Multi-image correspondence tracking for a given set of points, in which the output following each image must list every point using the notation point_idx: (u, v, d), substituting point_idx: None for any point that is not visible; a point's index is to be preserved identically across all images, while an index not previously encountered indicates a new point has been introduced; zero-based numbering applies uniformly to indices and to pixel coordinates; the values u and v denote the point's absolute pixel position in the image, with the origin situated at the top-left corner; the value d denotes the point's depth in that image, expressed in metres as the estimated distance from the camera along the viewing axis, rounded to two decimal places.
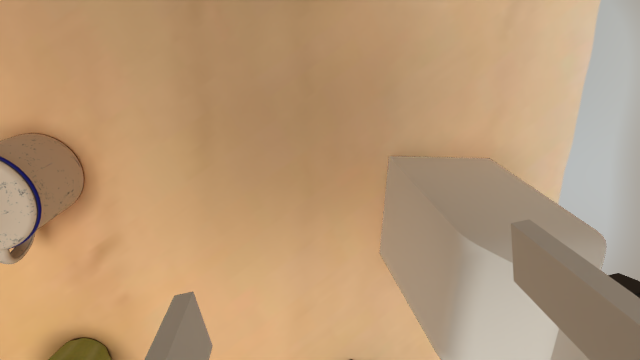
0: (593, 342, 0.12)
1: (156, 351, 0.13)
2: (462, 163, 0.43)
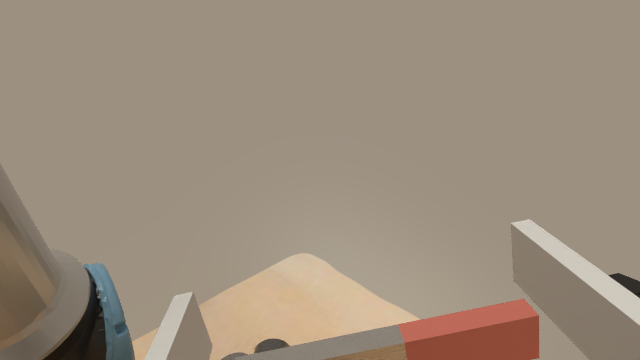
0: (593, 342, 0.12)
1: (156, 351, 0.13)
2: None
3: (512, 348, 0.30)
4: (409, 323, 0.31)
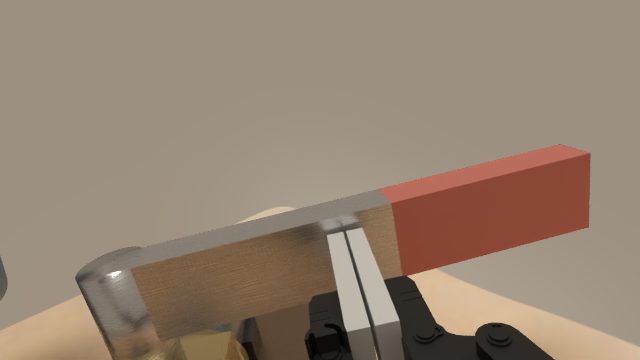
0: (372, 334, 0.14)
1: (341, 270, 0.15)
2: None
3: (551, 211, 0.20)
4: (396, 185, 0.20)
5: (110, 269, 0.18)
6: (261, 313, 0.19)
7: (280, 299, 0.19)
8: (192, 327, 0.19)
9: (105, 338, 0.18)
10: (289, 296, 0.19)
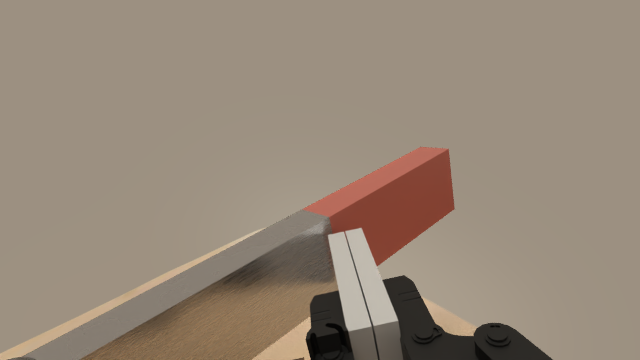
0: None
1: (342, 270, 0.15)
2: None
3: (433, 200, 0.24)
4: (317, 202, 0.20)
5: None
6: None
7: (236, 357, 0.16)
8: None
9: None
10: (245, 349, 0.16)
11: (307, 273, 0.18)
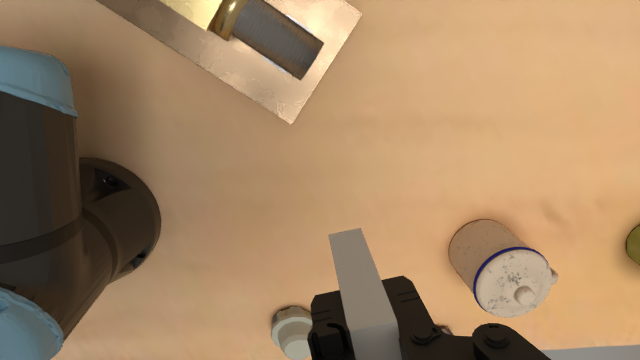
0: None
1: (343, 270, 0.15)
2: None
3: None
4: None
5: None
6: None
7: None
8: None
9: None
10: None
11: None
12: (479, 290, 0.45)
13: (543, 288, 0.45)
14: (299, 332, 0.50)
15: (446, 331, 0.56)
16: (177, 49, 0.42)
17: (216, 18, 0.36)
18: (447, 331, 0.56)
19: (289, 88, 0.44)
